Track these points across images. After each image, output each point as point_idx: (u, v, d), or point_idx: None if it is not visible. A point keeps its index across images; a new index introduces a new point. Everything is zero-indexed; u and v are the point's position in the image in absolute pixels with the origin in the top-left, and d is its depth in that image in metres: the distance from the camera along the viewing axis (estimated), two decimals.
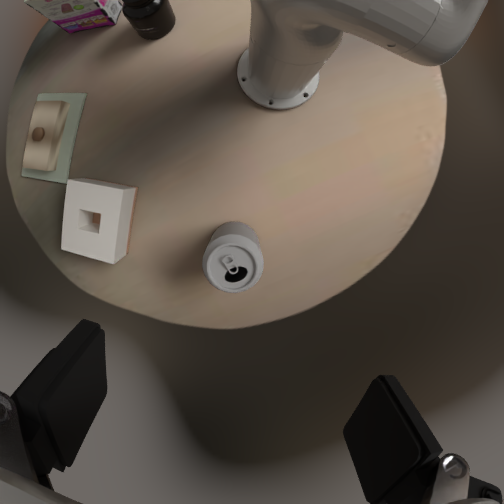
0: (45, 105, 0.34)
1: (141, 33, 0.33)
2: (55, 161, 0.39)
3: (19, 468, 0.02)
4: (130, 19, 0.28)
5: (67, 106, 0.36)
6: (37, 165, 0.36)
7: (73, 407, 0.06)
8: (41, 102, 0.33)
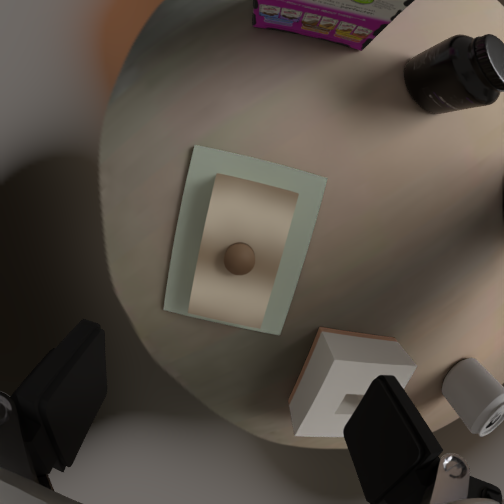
0: (250, 192, 0.22)
1: (433, 103, 0.20)
2: None
3: (19, 468, 0.02)
4: (465, 92, 0.15)
5: None
6: (236, 316, 0.24)
7: (73, 407, 0.06)
8: (236, 181, 0.22)
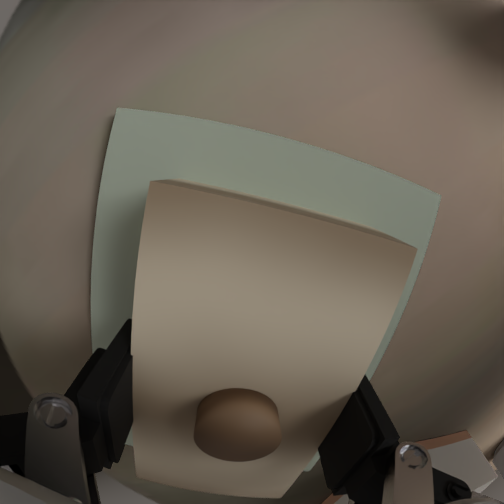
0: (271, 249, 0.06)
1: None
2: None
3: (70, 473, 0.03)
4: None
5: None
6: (232, 489, 0.09)
7: (125, 403, 0.06)
8: (219, 210, 0.06)
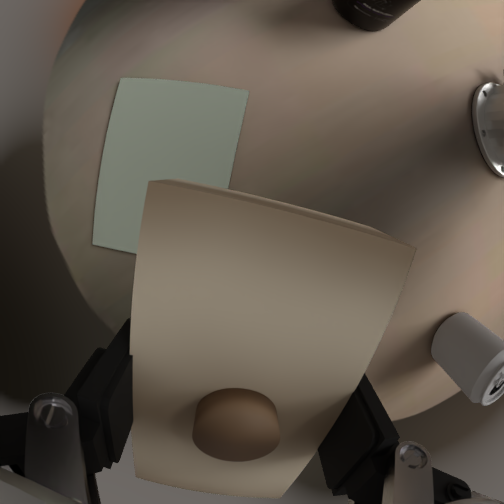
0: (269, 249, 0.06)
1: (361, 14, 0.18)
2: None
3: (71, 473, 0.03)
4: None
5: None
6: (232, 489, 0.09)
7: (125, 403, 0.06)
8: (218, 210, 0.06)
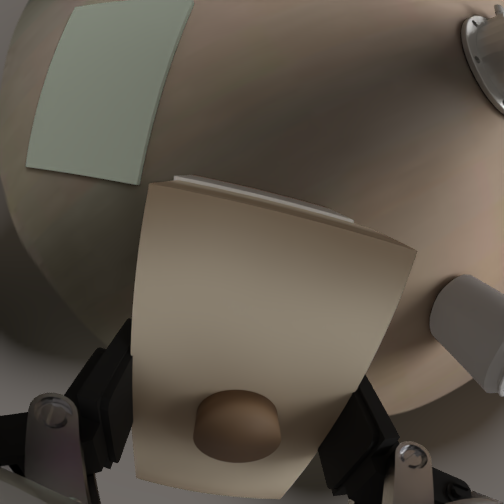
0: (271, 252, 0.06)
1: None
2: None
3: (70, 473, 0.03)
4: None
5: None
6: (232, 490, 0.09)
7: (125, 403, 0.06)
8: (219, 212, 0.06)
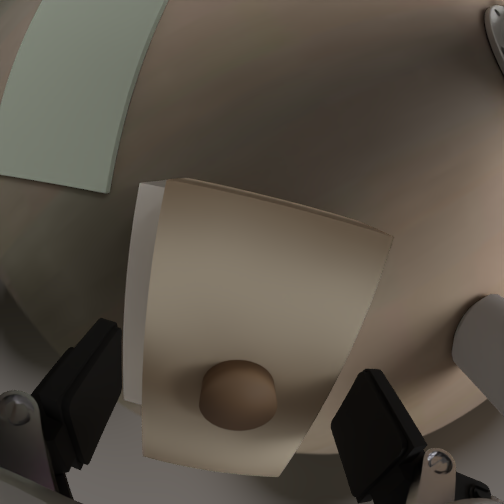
0: (267, 236, 0.08)
1: None
2: None
3: (38, 469, 0.03)
4: None
5: None
6: (233, 466, 0.10)
7: (93, 405, 0.06)
8: (224, 203, 0.07)
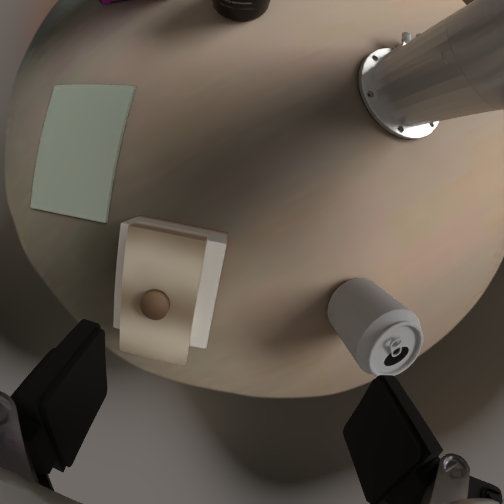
0: (159, 243, 0.22)
1: (228, 8, 0.23)
2: None
3: (19, 468, 0.02)
4: None
5: (206, 243, 0.25)
6: (161, 354, 0.24)
7: (73, 407, 0.06)
8: (145, 233, 0.22)
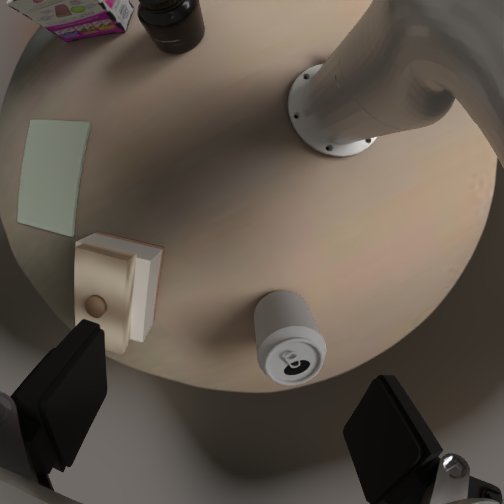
0: (96, 260, 0.27)
1: (161, 45, 0.27)
2: (128, 334, 0.32)
3: (19, 468, 0.02)
4: (149, 27, 0.22)
5: (134, 260, 0.30)
6: None
7: (73, 407, 0.06)
8: (87, 253, 0.27)
